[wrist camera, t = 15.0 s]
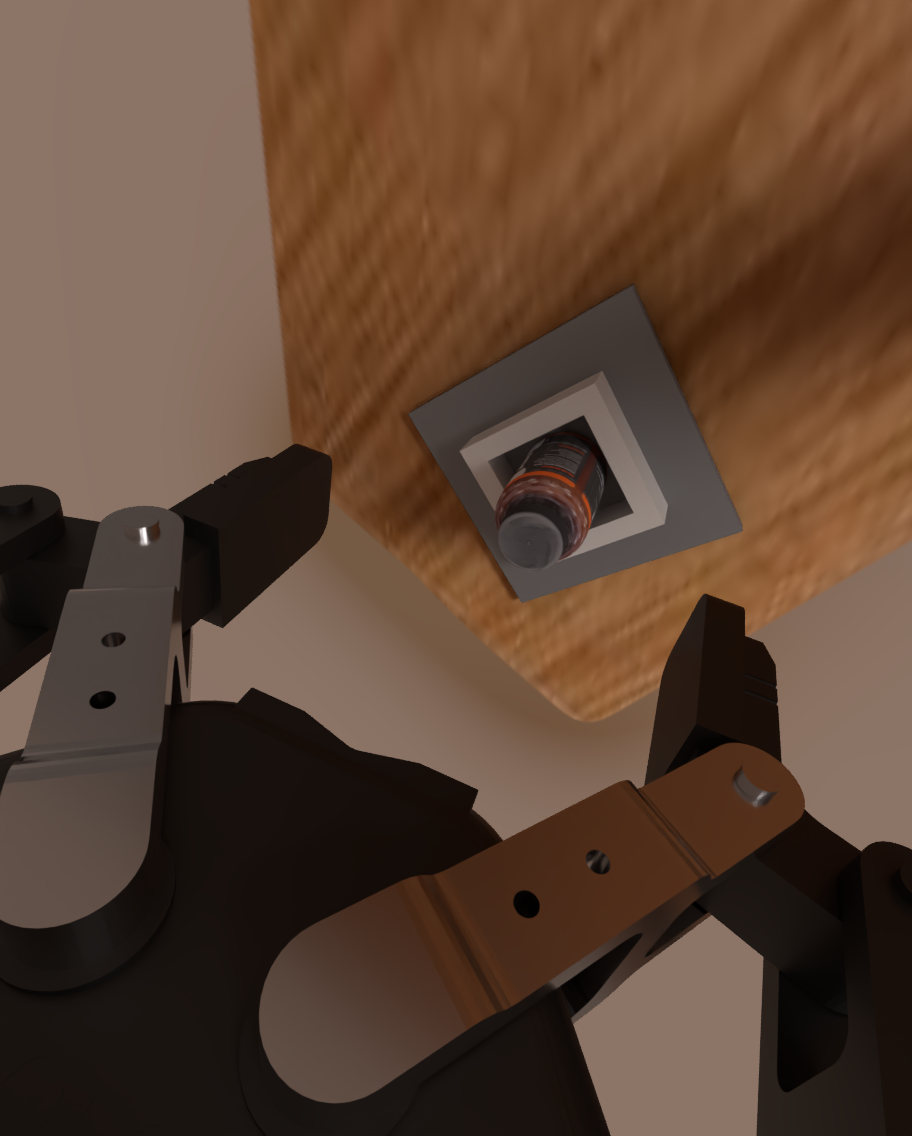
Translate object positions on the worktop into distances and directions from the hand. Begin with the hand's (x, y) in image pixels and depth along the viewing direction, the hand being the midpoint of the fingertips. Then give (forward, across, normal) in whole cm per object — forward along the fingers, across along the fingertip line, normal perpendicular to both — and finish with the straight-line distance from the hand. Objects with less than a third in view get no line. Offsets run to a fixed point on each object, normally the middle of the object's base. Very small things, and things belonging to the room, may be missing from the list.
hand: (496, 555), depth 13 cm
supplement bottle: (+32, +2, +13) cm, 35 cm away
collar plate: (+33, +2, +13) cm, 35 cm away
